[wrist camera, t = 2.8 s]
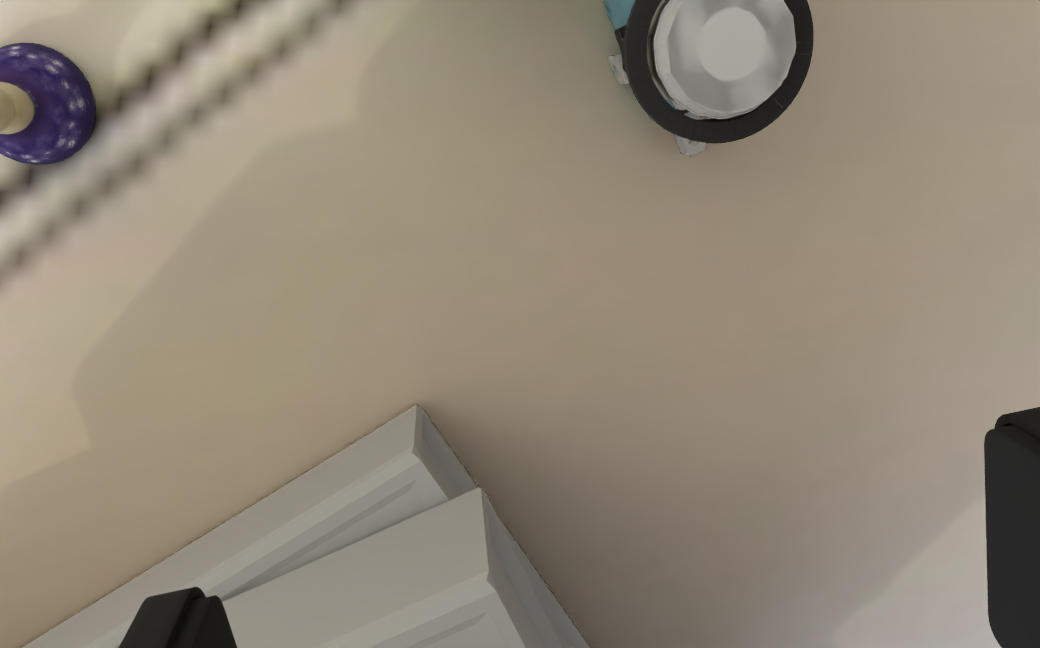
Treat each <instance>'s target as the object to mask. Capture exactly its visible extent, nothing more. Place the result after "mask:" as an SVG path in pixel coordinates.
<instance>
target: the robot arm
mask: <svg viewBox="0 0 1040 648" xmlns="http://www.w3.org/2000/svg"><path fill="white" fill-rule="evenodd" d="M984 453H985V495H986V538H987V580H988V616H989V623H990V626H991V629H992V632H993V634H994V636H995V638H996V640H997V641H998V643H999V645H1000V646H1001V647H1002V648H1040V407H1037V408H1033V409H1028V410H1023V411H1019V412H1014V413H1009V414H1005V415H1002V416H1001V417H999V418H998V420H997V422H996V424H995V429H991V430H990V431H988V432H987V434H986V436H985V442H984ZM119 648H237V645H236V642H235V639H234V636H233V633H232V630H231V627H230V624H229V621H228V618H227V614H226V611H225V608H224V606H223V603H222V601H221V600H220V598H219V597H218V596H216V595H214V596H209V597H206V596H205V594H204V593H203V591H202V590H201V589H200V588H198V587H192V588H187V589H183V590H178V591H173V592H168V593H164V594H159V595H154V596H150V597H147V598H146V599H145V600H144V601H143V603H142V605H141V606H140V608H139V610H138V612H137V614H136V616H135V618H134V620H133V622H132V623H131V625H130V627H129V629H128V631H127V633H126V635H125V637H124V638H123V640H122V642H121V644H120V646H119Z"/></svg>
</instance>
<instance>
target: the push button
mask: <svg viewBox="0 0 1040 648" xmlns="http://www.w3.org/2000/svg"><path fill="white" fill-rule="evenodd" d="M604 4H605V8H606V11H607V14H608V16H609V19H611V21H612V24H613V26H614V29H615V35H616V39H617V41H618V44H619V46H620V49H621V53H620V54H618V55H613V56H608V59H609V62H610V65H611V67H612V70H613V72H614V75H615V78H616V80H617V82H618V83H619V84H625V85H626V84H630V86H631V88H632V91H633V93H634V95H635V97H636V99H637V100H638V102H639V104H640V105H641V106H642V108H643V109H644V111H645V112H646V113H647V114H648V115H649V117H650V119H651V120H653V121H655V122H656V123H657V124H659V125H660V126H661V127H663V128H664V129H666V130H668V131H669V132H671V133H673V134H674V137H675V140H676V142H677V145H678V147H679V150H680V153H681V154H687V156H690V157H691V156H693V155H695V154H697V153H700V152H702V151H704V150H706V148H707V146H706V143H725V142H731V141H736V140H739V139H743V138H745V137H748V136H750V135H753V134H755V133H757V132H758V131H760V130H762V129H763V128H765V127H767V126H768V125H770V124H771V123H772V122H773V121H774V120H776V119H777V118H778V117H779V116H780V115H781V114H782V113H783V112H784V111H785V110H786V109H787V107H788V106H789V105H790V104H791V103H792V101H793V100H794V98H795V97H796V95H797V94H798V92H799V90H800V88H801V86H802V84H803V82H804V80H805V77H806V75H807V72H808V69H809V66H810V61H811V57H812V50H813V23H812V17H811V12H810V9H809V5H808V2H807V0H607V1H605V2H604ZM616 70H617V71H616ZM700 116H703V117H710V118H713V119H704V120H701V118H700ZM688 139H689V140H691V142H690V143H689V144H688Z"/></svg>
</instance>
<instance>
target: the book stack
mask: <svg viewBox="0 0 1040 648" xmlns="http://www.w3.org/2000/svg"><path fill="white" fill-rule="evenodd" d="M192 587H198V588H200V589H201V590H202V591H203V593H204V594H205V596H206V597H209V596H214V595H216V596H218V597H219V598H220V600H221V601H222V603H223V606H224V608H225V611H226V614H227V618H228V621H229V624H230V627H231V630H232V633H233V636H234V639H235V642H236V645H237V648H590V646H589V645H588V643H587V642H586V640H585V639H584V638H583V636H582V635H581V633H580V632H579V630H578V629H577V628H576V626H575V625H574V623H573V622H572V620H571V619H570V618H569V616H568V615H567V613H566V612H565V610H564V609H563V608H562V606H561V605H560V603H559V602H558V600H557V599H556V598H555V596H554V595H553V593H552V592H551V590H550V589H549V588H548V586H547V585H546V583H545V582H544V581H543V579H542V578H541V576H540V575H539V573H538V572H537V571H536V569H535V568H534V566H533V565H532V563H531V562H530V561H529V559H528V558H527V556H526V555H525V553H524V552H523V551H522V549H521V548H520V546H519V545H518V543H517V542H516V541H515V539H514V538H513V536H512V535H511V533H510V532H509V531H508V529H507V528H506V526H505V525H504V523H503V522H502V521H501V519H500V518H499V516H498V515H497V513H496V512H495V510H494V508H493V506H492V504H491V502H490V500H489V498H488V496H487V494H486V492H485V491H484V490H483V489H482V488H478V486H477V485H476V484H475V482H474V481H473V479H472V478H471V476H470V475H469V474H468V472H467V471H466V469H465V468H464V466H463V465H462V464H461V462H460V461H459V459H458V458H457V456H456V455H455V454H454V452H453V451H452V449H451V448H450V446H449V445H448V444H447V442H446V441H445V439H444V438H443V436H442V435H441V434H440V432H439V431H438V429H437V428H436V426H435V425H434V424H433V422H432V421H431V419H430V418H429V416H428V415H427V414H426V412H425V411H424V409H423V408H421V407H420V406H419V405H417V404H416V405H414V406H413V407H411V408H410V409H408V410H406V411H405V412H403V413H401V414H400V415H398V416H397V417H395V418H393V419H392V420H390V421H388V422H387V423H385V424H384V425H382V426H380V427H379V428H377V429H375V430H374V431H372V432H371V433H369V434H367V435H366V436H364V437H362V438H361V439H359V440H358V441H356V442H354V443H353V444H351V445H349V446H348V447H346V448H345V449H343V450H341V451H340V452H338V453H336V454H335V455H333V456H332V457H330V458H328V459H327V460H325V461H324V462H322V463H320V464H319V465H317V466H315V467H314V468H312V469H311V470H309V471H307V472H306V473H304V474H302V475H301V476H299V477H298V478H296V479H294V480H293V481H291V482H289V483H288V484H286V485H285V486H283V487H281V488H280V489H278V490H276V491H275V492H273V493H272V494H270V495H268V496H267V497H265V498H263V499H262V500H260V501H259V502H257V503H255V504H254V505H252V506H250V507H249V508H247V509H246V510H244V511H242V512H241V513H239V514H237V515H236V516H234V517H233V518H231V519H229V520H228V521H226V522H225V523H223V524H221V525H220V526H218V527H216V528H215V529H213V530H212V531H210V532H208V533H207V534H205V535H203V536H202V537H200V538H199V539H197V540H195V541H194V542H192V543H190V544H189V545H187V546H186V547H184V548H182V549H181V550H179V551H177V552H176V553H174V554H173V555H171V556H169V557H168V558H166V559H164V560H163V561H161V562H160V563H158V564H156V565H155V566H153V567H151V568H150V569H148V570H147V571H145V572H143V573H142V574H140V575H138V576H137V577H135V578H134V579H132V580H130V581H129V582H127V583H125V584H124V585H122V586H121V587H119V588H117V589H116V590H114V591H113V592H111V593H109V594H108V595H106V596H104V597H103V598H101V599H100V600H98V601H96V602H95V603H93V604H91V605H90V606H88V607H87V608H85V609H83V610H82V611H80V612H78V613H77V614H75V615H74V616H72V617H70V618H69V619H67V620H65V621H64V622H62V623H61V624H59V625H57V626H56V627H54V628H52V629H51V630H49V631H48V632H46V633H44V634H43V635H41V636H39V637H38V638H36V639H35V640H33V641H31V642H30V643H28V644H26V645H25V646H23V647H22V648H119V646H120V644H121V642H122V640H123V638H124V637H125V635H126V633H127V631H128V629H129V627H130V625H131V623H132V622H133V620H134V618H135V616H136V614H137V612H138V610H139V608H140V606H141V605H142V603H143V601H144V600H145V599H146V598H147V597H150V596H154V595H159V594H164V593H168V592H173V591H178V590H183V589H187V588H192Z"/></svg>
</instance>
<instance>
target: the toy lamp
mask: <svg viewBox="0 0 1040 648" xmlns="http://www.w3.org/2000/svg"><path fill="white" fill-rule="evenodd" d="M94 119H95V105H94V99H93V95H92V92H91V89H90V85H89V83H88V82H87V80H86V79H85V77H84V75H83V74H82V72H81V71H80V70H79V68H78V67H77V66H76V65H75V64H74V63H73V62H71V61H70V60H69V59H68V58H66V57H64V56H63V55H62V54H61V53H59V52H57V51H56V50H54V49H51V48H49V47H45V46H43V45H39V44H34V43H18V44H11V45H7V46H4V47H1V48H0V153H1V154H2V155H4V156H6V157H8V158H11V159H14V160H16V161H19V162H22V163H29V164H49V163H55V162H59V161H62V160H64V159H67V158H69V157H71V156H72V155H73V154H74V153H76V152H77V151H78V150H80V149H81V148H82V146H83V145H84V143H85V142H86V141H87V139H88V138H89V136H90V134H91V132H92V129H93V125H94Z"/></svg>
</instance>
